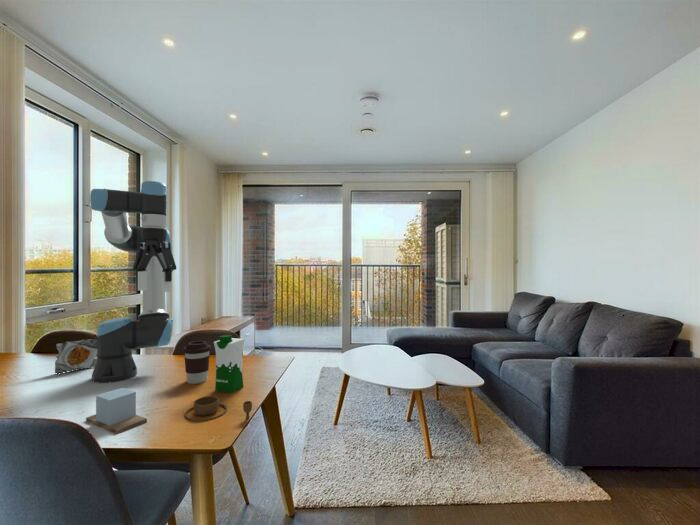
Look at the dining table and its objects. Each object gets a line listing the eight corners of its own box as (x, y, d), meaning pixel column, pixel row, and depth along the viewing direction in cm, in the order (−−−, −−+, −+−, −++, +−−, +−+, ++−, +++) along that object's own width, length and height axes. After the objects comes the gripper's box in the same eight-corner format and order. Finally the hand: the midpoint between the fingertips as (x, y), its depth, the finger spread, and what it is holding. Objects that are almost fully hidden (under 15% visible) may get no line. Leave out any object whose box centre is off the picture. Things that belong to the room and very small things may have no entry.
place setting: (226, 402, 116) (226, 384, 116) (256, 422, 101) (256, 402, 101) (169, 418, 104) (169, 399, 104) (194, 444, 89) (194, 421, 89)
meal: (57, 377, 140) (57, 344, 140) (54, 374, 143) (54, 343, 143) (101, 368, 152) (101, 338, 152) (98, 366, 154) (98, 337, 154)
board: (86, 423, 99) (86, 417, 99) (116, 413, 106) (116, 407, 106) (116, 437, 91) (116, 430, 91) (146, 424, 98) (146, 418, 98)
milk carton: (211, 392, 123) (211, 336, 123) (227, 383, 132) (227, 331, 132) (231, 395, 120) (231, 338, 120) (247, 386, 129) (247, 333, 129)
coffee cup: (200, 386, 129) (200, 346, 129) (177, 384, 131) (177, 345, 131) (216, 377, 139) (216, 340, 139) (194, 376, 141) (194, 339, 141)
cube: (96, 420, 97) (96, 395, 97) (122, 410, 104) (122, 387, 104) (109, 425, 94) (109, 400, 94) (135, 415, 100) (135, 391, 100)
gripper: (121, 228, 119) (121, 290, 119) (166, 225, 107) (166, 293, 107) (143, 230, 126) (143, 288, 126) (188, 227, 114) (188, 291, 114)
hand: (154, 291), depth 117 cm, fingers open, 13 cm apart
